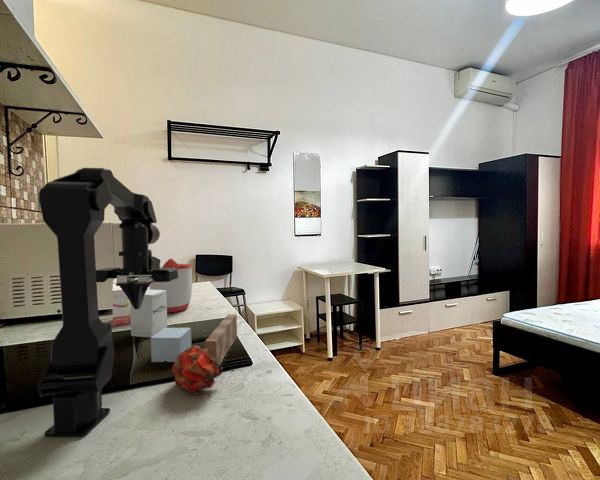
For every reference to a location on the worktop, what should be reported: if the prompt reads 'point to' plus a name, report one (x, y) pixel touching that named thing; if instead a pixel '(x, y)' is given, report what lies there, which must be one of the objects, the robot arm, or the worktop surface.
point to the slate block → (170, 344)
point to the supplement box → (150, 314)
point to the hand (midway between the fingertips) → (137, 308)
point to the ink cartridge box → (120, 305)
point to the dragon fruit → (195, 369)
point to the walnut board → (222, 338)
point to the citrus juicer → (176, 287)
